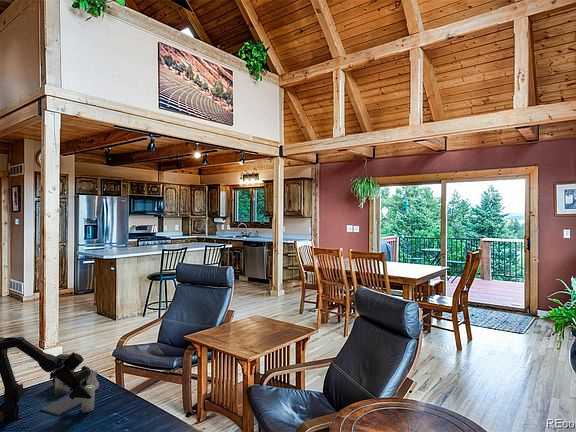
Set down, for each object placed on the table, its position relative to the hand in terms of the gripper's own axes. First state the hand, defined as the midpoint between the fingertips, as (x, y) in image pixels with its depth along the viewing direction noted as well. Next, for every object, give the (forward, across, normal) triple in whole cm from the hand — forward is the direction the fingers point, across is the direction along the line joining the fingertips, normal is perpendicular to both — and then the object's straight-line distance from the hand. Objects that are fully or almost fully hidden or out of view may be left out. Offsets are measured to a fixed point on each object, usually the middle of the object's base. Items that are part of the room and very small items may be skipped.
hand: (91, 395), depth 184 cm
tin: (-7, +26, +16) cm, 32 cm away
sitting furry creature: (+3, +23, +6) cm, 24 cm away
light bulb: (+4, 0, +6) cm, 7 cm away
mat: (-4, +8, +14) cm, 17 cm away
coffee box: (-8, +39, +17) cm, 43 cm away
